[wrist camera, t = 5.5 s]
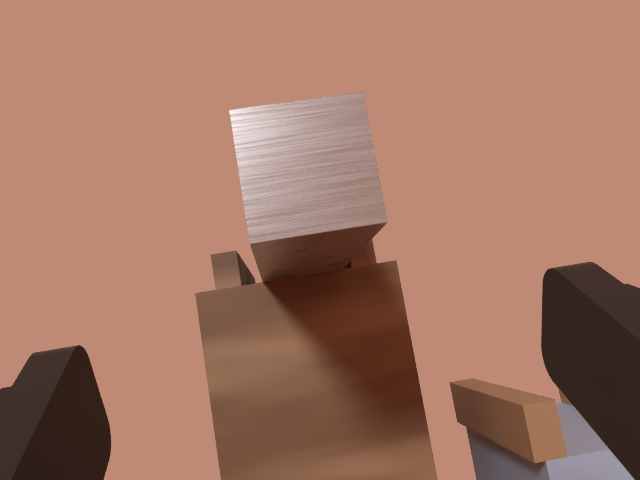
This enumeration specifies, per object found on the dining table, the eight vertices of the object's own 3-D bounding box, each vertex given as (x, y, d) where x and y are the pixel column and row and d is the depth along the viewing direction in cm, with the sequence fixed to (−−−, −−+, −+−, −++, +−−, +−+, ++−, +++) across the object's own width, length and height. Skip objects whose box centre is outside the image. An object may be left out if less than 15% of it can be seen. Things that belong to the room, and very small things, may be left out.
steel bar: (387, 222, 14) (362, 91, 14) (249, 243, 14) (229, 110, 14) (320, 293, 38) (311, 243, 38) (269, 301, 37) (261, 251, 38)
